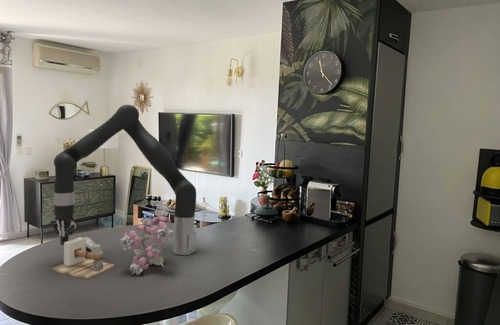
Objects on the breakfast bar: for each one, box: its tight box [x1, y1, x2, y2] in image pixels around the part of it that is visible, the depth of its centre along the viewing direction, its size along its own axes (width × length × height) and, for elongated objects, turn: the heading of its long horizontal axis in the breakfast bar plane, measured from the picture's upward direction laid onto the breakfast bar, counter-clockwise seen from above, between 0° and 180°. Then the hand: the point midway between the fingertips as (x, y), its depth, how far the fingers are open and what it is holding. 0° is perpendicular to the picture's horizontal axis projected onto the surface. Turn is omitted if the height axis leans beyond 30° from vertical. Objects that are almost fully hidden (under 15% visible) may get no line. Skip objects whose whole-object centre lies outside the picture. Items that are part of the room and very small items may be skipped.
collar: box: [63, 236, 87, 266], centre depth 146 cm, size 3×8×9 cm, turn 159°
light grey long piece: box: [82, 236, 104, 260], centre depth 164 cm, size 5×7×25 cm
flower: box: [118, 208, 174, 275], centre depth 148 cm, size 20×22×25 cm
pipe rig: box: [51, 249, 115, 280], centre depth 145 cm, size 18×14×7 cm
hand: (64, 244), depth 148 cm, fingers closed
